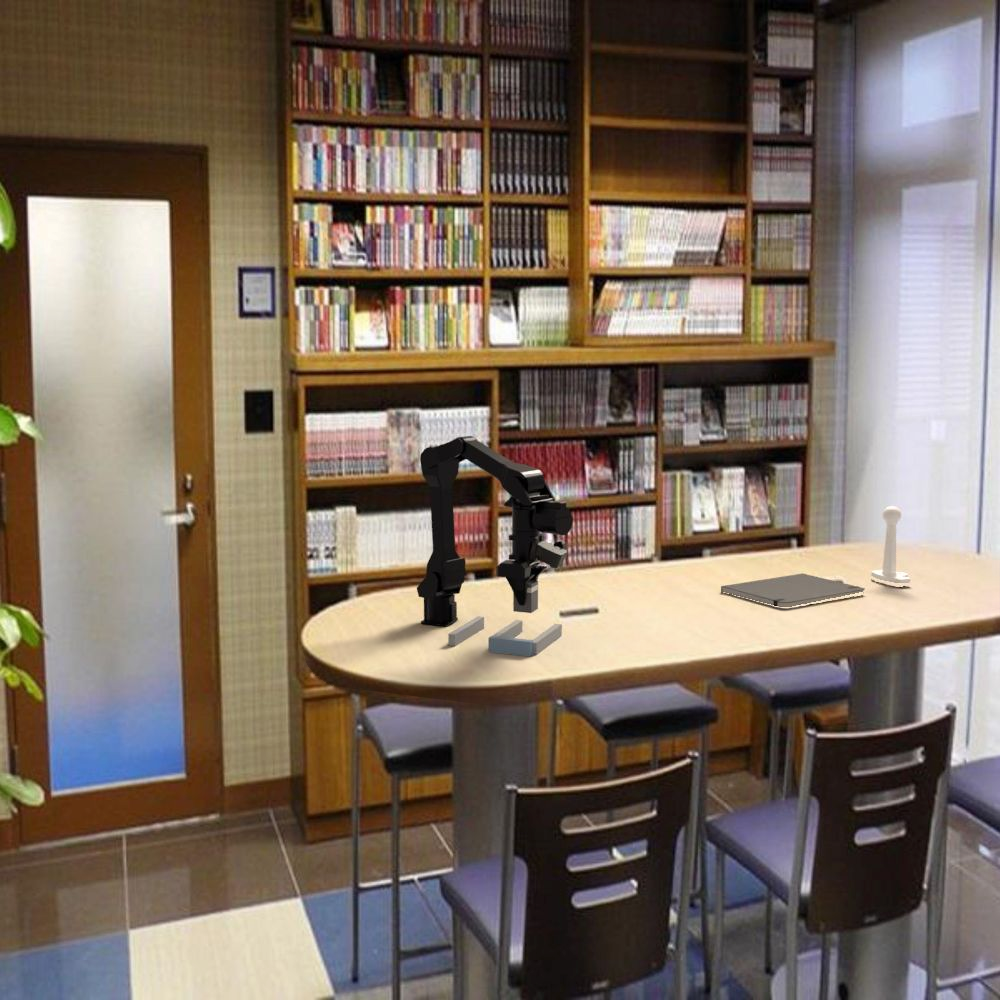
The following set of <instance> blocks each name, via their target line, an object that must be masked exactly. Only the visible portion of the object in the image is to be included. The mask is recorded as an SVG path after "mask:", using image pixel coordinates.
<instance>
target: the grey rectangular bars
mask: <svg viewBox="0 0 1000 1000" xmlns="http://www.w3.org/2000/svg"><path fill="white" fill-rule="evenodd" d="M483 629H485V616H479V615H478V616H475V617H474V618H472V619H470V620H469V621H467V622H466V623H464V624H461V626H459V627H457V628H455V629H453V631H451V632H450V633H448V637H447V638H448V642H447V643H448V645H451V647H456V646H458V645H460V644H461V643H462V642H464V641H465V640H467V639H469V638H471V637H473V636H474V635H475V634H477V633H478V632H480V631H481V630H483ZM562 631H563V625H562V623H554V624H552V625H551V626H550V627H549V628H547V629H545V630H544V631H543V632H542V633H540V634H539V635H537V636H536V637H534V638H533V639H526V638H516V637H517V636H519V635H520V634H521V633H523V620H520V619H516V620H514V621H512V622H511V623H509V624H507V625H505V626H504V627H503V628H502V629H500V630H498V631H497V632H495V633H494V634H493V635H490V636H489V637H488V639H487V640H488V644H487V645H488V647H487V648H488V652H489V653H495V654H505V655H515V656H524V657H531V656H533V655H536V656H537V655H538V654H540V653H541V652H542V651H543V650H545V649H546V648H547V647H548V646H550V645H551V644H553V643H554V642H555V641H557V640H558V639H560V638H561V637H562V636H563V634H562V633H563V632H562Z"/></svg>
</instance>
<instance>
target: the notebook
mask: <svg viewBox="0 0 1000 1000" xmlns="http://www.w3.org/2000/svg"><path fill="white" fill-rule="evenodd" d="M863 591H865V587H861V586H857V585H852V584H848V583H844V582H841V581H840V582H839V581H837V580H836V581H835V580H831V579H827V578H823V577H819V576H814V575H810V574H806V573H798V574H797V573H796V574H792V575H784V576H777V577H772V578H765V579H759V580H752V581H747V582H739V583H733V584H727V585H721V586H720V593H721V592H726V593H729V594H733V595H736V596H740V597H744V598H748V599H752V600H755V601H759V602H763V603H767V604H771V605H774V606H779V607H792V606H796V605H801V604H807V603H811V602H816V601H821V600H825V599H830V598H836V597H841V596H845V595H850V594H855V593H859V592H863ZM863 593H864V592H863ZM729 594H728V595H729ZM736 596H735V597H736ZM740 597H739V598H740Z"/></svg>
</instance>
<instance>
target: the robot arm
mask: <svg viewBox="0 0 1000 1000" xmlns="http://www.w3.org/2000/svg"><path fill="white" fill-rule="evenodd" d="M419 457H420V458H419V463H420V468H421V472H422V477H423V478H424V480H425V481H426V483H427V484H428V487H429V495H430V496H429V497H430V516H431V517H430V518H431V537H432V538H431V539H432V553H431V554H430V557H429V559H428V561H427V564H426V569H425V570H426V573H425V577H424V578H423V579H422V581H421V582H420V583H419V584H418V585H417V587H416V592H417V595H418V597H419V598H423V619H422V620H421V621H420V624H421V625H431V626H440V627H441V626H443V627H447V626H449V625H451V624H453V623H455V622H457V621H458V620H459V618H458V615H457V614H458V611H457V610H458V609H457V608H458V606H457V601H455V600H456V599H455V595H458V594H460V592H461V588H462V585H463V584H464V582H465V580H466V579H465V577H466V576H467V571H466V558H465V557H460V555H459V553H458V552H457V550H456V541H455V540H456V539H455V536H456V535H455V534H456V533H455V517H454V515H455V514H454V496H453V495H454V494H453V491H454V490H453V485H454V483H455V481H456V479H457V477H458V474H459V469H460V467H459V466H460V463H462V462H464V461H466V460H467V461H468V462H469V463H472V464H474V465H475V466H476V467H477V468H479V469H481V470H483V471H485V472H486V473H487V474H488V475H490V476H492V477H494V478H496V479H497V481H499V483H500V485H501V487H502V489H503V490H504V491H505V492H507V494H508V495H510V497H509V499H507V500H506V501H505V502H504V503H503V506H504V507H505V508H507V507H508V508H511V512H512V513H511V520H512V521H511V524H512V525H511V534H508V541H511V553H510V554H508V559H506V560H503V561H502V562H500V563H498V565H497V566H496V570H495V571H496V577H500V578H505V579H506V580H507V583H508V585H509V587H510V588H511V591H512V593H514V595H515V597H516V599H517V601H518V603H519V605H522V606H524V605H525V601H526V594H527V587H528V581H529V580H533V581H539V580H538V579H539V576H540V575H541V574H542V573H543V572H544V571H545V570H547V568H548V566H549V567H550V568H553V569H558V568H559V567H562V566H563V564H564V561H565V559H566V558H567V557H568V551H569V550H568V549H567V545H566V541H563V540H561V539H559V540H557V541H556V542H555V543H553V542H547V541H545V535H543V533H545V534H550V535H555V536H556V535H557V536H567V534H569V533H570V531H571V530H572V527H573V524H574V523H573V522H574V518H573V515H572V512H571V510H570V508H568V507H567V502H566V501H564V500H563V501H562V500H560V501H556V499H555V497H554V494H553V493H552V491H551V490H550V487H549V486H548V484H547V482H546V480H545V478H544V476H545V475H544V473H543V472H542V471H541V470H540V469H539V468H536V467H533V466H530V465H527V464H522V463H517V462H514V461H512V460H510V459H508V458H507V457H506V456H503V455H502V454H500V453H499V452H497V451H495V450H494V449H492V448H490V447H489V446H487V445H485V444H484V443H482V442H481V441H479V440H478V439H477V437H475V436H473V435H467V436H457V437H456V438H454V439H451V440H450V441H448V442H446V443H443V444H439V445H436V446H428V447H426V448H424V449H423V451H422V452H421V453H420V456H419ZM541 562H542V563H544V564H546V565H548V566H546V565H542V563H541Z"/></svg>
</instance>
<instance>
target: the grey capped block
mask: <svg viewBox="0 0 1000 1000" xmlns="http://www.w3.org/2000/svg"><path fill="white" fill-rule="evenodd" d="M512 593H513V592H512ZM512 598H513V599H512V600H513V604H512V605H513V606H512V607H513V609H512V610H513V612H516V613H527V614H533V613H534V612H535V611H537V610H538V609H539V580H537V581H533V580H529V581H528V587H527V594H526V601H525V605H524V606H522V605H519V603H518V601H517V599H516V597H515V595H514V593H513V597H512Z"/></svg>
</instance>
